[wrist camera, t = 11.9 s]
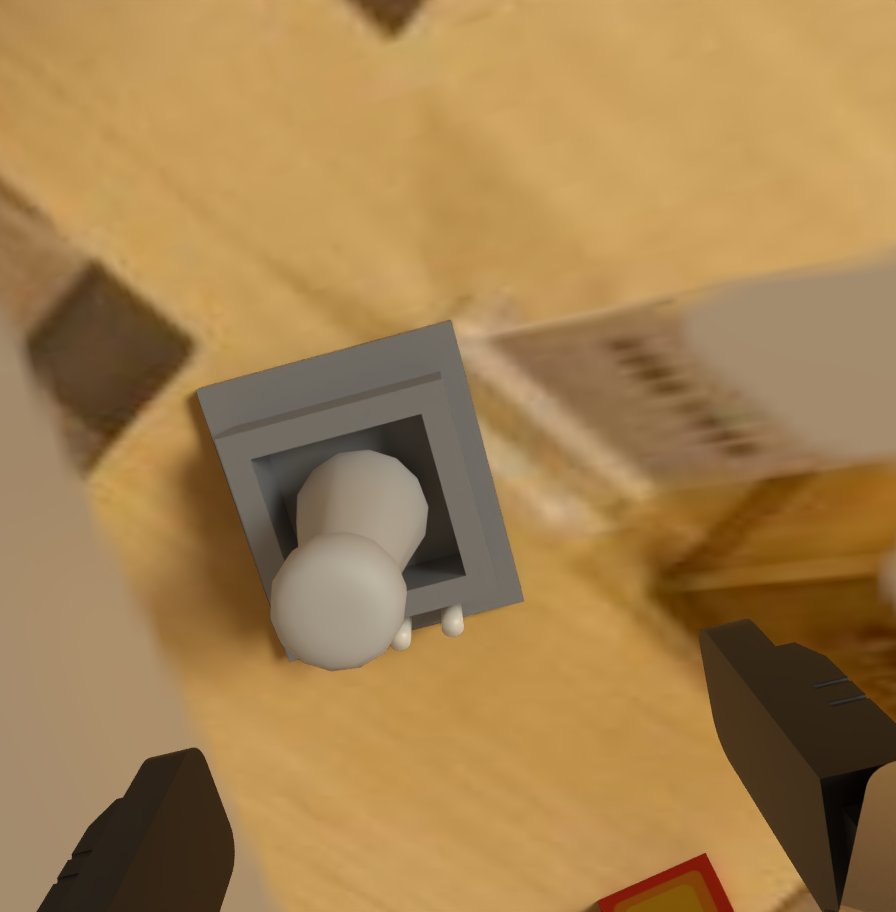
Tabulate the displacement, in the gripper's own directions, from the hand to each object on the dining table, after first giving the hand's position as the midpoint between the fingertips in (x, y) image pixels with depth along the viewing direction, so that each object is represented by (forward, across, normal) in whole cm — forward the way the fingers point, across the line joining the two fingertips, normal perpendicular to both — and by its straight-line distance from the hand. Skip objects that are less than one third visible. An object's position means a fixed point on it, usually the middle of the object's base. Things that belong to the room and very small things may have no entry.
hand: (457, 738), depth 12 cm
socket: (+25, +4, +2) cm, 25 cm away
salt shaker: (+24, +4, +2) cm, 24 cm away
